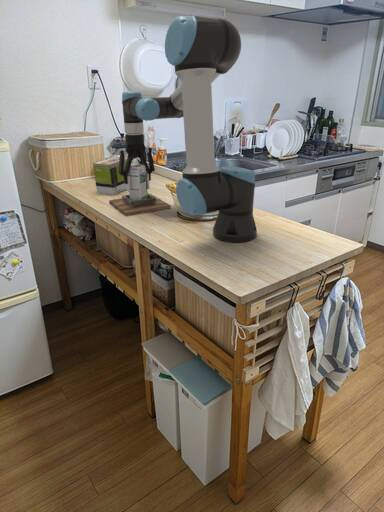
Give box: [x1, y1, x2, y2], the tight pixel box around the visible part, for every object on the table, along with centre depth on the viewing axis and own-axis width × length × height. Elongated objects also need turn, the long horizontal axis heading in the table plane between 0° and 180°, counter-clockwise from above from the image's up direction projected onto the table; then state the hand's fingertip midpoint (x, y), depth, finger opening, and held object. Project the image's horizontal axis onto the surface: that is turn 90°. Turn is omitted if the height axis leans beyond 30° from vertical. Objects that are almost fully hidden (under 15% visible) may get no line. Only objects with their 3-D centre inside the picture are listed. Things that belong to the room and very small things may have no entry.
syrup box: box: [128, 163, 149, 201], centre depth 157 cm, size 6×6×14 cm
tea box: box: [92, 157, 127, 196], centre depth 182 cm, size 15×10×15 cm, turn 154°
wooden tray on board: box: [108, 193, 171, 217], centre depth 161 cm, size 20×20×4 cm
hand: (138, 189), depth 159 cm, fingers closed on syrup box, 8 cm apart
